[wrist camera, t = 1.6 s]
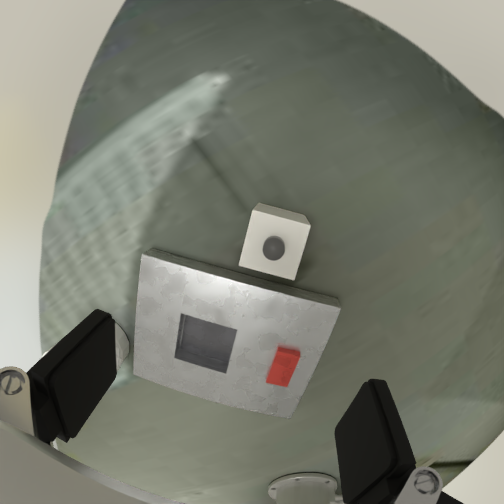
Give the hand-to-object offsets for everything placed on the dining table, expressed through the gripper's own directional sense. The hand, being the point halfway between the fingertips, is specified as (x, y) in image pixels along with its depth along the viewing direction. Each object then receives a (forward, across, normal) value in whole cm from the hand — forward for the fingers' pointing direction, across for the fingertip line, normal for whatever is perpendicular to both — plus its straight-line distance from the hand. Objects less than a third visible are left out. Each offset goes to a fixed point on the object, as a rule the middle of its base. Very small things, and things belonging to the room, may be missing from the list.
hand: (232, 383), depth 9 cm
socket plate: (+19, +1, +12) cm, 23 cm away
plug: (+20, -1, -1) cm, 20 cm away
